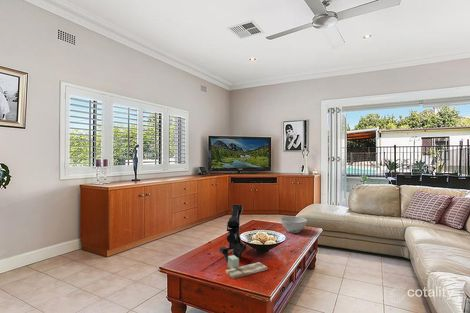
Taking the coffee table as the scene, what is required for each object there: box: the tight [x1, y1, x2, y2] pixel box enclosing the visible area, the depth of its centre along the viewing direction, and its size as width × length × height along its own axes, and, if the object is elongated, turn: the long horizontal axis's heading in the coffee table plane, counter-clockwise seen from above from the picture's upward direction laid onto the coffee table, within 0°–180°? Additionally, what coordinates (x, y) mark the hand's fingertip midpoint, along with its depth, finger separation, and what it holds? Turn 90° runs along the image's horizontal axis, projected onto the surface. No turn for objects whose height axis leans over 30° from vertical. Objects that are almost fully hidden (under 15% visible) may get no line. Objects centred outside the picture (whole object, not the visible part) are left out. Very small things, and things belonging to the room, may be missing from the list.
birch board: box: [225, 261, 269, 280], centre depth 174 cm, size 10×27×2 cm, turn 120°
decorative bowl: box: [280, 215, 308, 234], centre depth 266 cm, size 27×27×12 cm
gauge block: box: [227, 254, 240, 269], centre depth 180 cm, size 10×5×7 cm, turn 30°
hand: (233, 260), depth 179 cm, fingers open, 9 cm apart
